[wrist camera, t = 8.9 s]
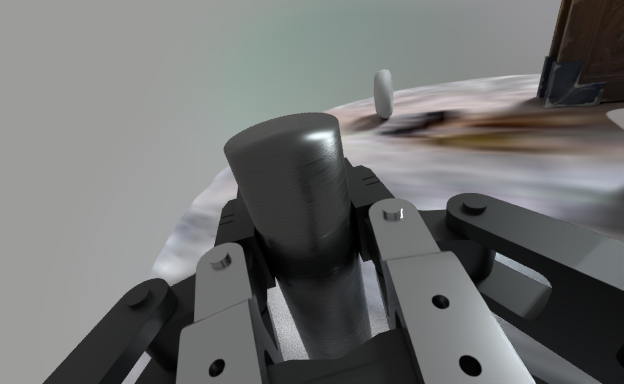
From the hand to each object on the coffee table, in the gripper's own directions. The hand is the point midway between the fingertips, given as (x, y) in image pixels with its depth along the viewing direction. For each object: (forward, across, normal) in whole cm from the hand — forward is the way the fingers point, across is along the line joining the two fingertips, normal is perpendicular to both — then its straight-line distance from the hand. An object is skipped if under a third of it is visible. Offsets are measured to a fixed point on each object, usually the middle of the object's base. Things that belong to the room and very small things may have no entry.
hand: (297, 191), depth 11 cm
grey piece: (+5, 0, +9) cm, 11 cm away
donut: (+46, -23, +15) cm, 54 cm away
